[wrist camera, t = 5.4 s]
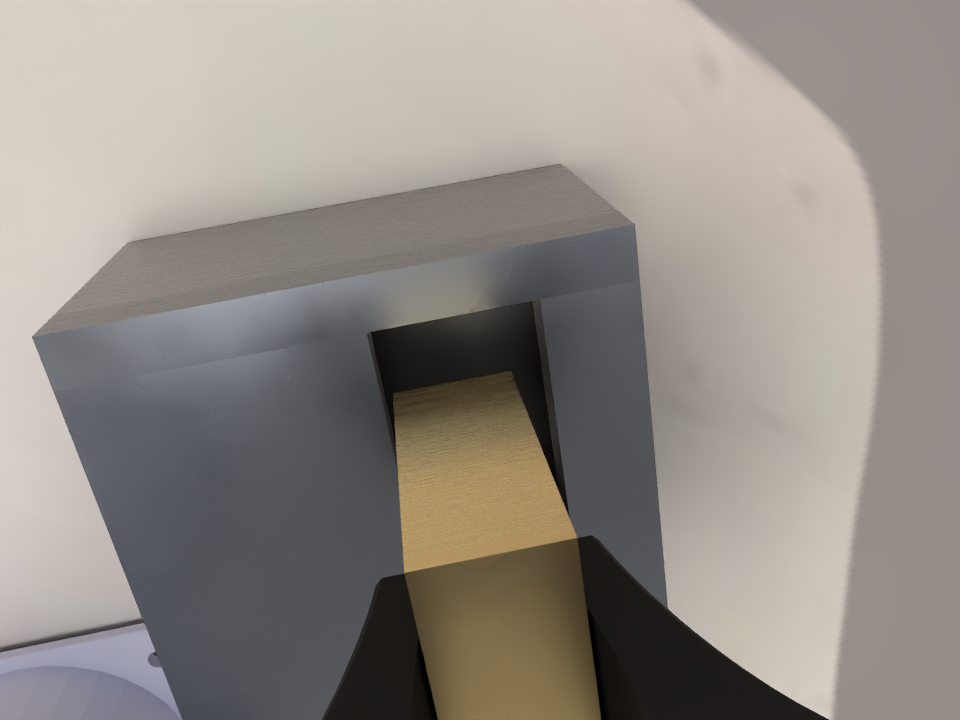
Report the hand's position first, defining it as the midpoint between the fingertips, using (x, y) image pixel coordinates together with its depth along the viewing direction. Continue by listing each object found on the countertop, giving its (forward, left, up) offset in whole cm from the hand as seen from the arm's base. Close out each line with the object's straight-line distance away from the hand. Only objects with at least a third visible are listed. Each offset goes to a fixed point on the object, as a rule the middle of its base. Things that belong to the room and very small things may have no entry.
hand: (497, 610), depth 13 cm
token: (0, 0, -3) cm, 3 cm away
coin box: (-1, +2, -9) cm, 10 cm away
